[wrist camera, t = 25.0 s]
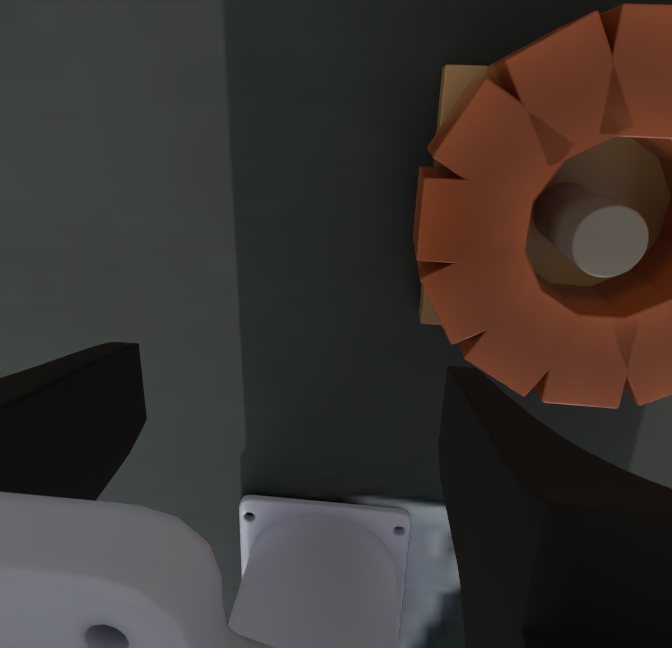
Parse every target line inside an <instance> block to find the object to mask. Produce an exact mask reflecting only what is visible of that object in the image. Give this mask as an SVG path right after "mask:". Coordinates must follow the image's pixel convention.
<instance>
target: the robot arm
mask: <svg viewBox="0 0 672 648" xmlns="http://www.w3.org/2000/svg"><path fill="white" fill-rule="evenodd" d="M146 420H147V417H146V408H145V398H144V389H143V380H142V370H141V361H140V352H139V344H137V343H123V342H110V343H105V344H101V345H97V346H94V347H91V348H88V349H85V350H82V351H79V352H76V353H73V354H70V355H67V356H64V357H62V358H59V359H56V360H53V361H50V362H47V363H45V364H42V365H39V366H36V367H33V368H30V369H27V370H24V371H21V372H18V373H15V374H12V375H9V376H5V377H2V378H0V648H398V638H399V629H400V619H401V610H402V600H403V591H404V581H405V572H406V563H407V553H408V544H409V534H410V525H411V518H410V514H409V513H408V511H406V510H404V509H400V508H390V507H379V506H368V505H357V504H346V503H335V502H324V501H313V500H302V499H291V498H281V497H270V496H259V495H246V496H244V497H243V498H242V499H241V501H240V505H239V518H240V544H241V570H242V581H241V584H240V588H239V591H238V594H237V597H236V600H235V603H234V607H233V610H232V613H231V616H230V619H229V622H228V625H227V622H226V618H225V613H224V609H223V591H222V575H221V573H220V570H219V568H218V565H217V562H216V560H215V557H214V555H213V552H212V550H211V547H210V544H209V543H208V542H207V541H205V540H204V539H203V538H202V537H201V536H200V535H198V534H197V533H196V532H195V531H194V530H192V529H191V528H190V527H189V526H188V525H187V524H185V523H184V522H183V521H182V520H181V519H180V518H178V517H176V516H173V515H169V514H166V513H163V512H160V511H157V510H153V509H150V508H147V507H144V506H140V505H134V504H124V503H113V502H103V501H96V499H97V498H98V496H99V495H100V494H101V492H102V491H103V490H104V488H105V487H106V485H107V484H108V483H109V481H110V480H111V479H112V477H113V476H114V474H115V473H116V472H117V470H118V469H119V467H120V466H121V465H122V463H123V462H124V460H125V459H126V457H127V456H128V455H129V453H130V451H131V449H132V448H133V446H134V444H135V442H136V440H137V438H138V436H139V434H140V432H141V430H142V428H143V426H144V424H145V422H146ZM438 444H439V463H440V478H441V484H442V490H443V495H444V500H445V505H446V510H447V515H448V520H449V525H450V530H451V535H452V540H453V545H454V549H455V554H456V559H457V565H458V571H459V578H460V585H461V597H462V608H463V619H464V631H465V643H466V648H672V489H671V488H668V487H665V486H663V485H660V484H657V483H655V482H652V481H649V480H647V479H644V478H642V477H640V476H637V475H635V474H633V473H630V472H628V471H626V470H623V469H621V468H619V467H617V466H615V465H613V464H611V463H609V462H607V461H605V460H603V459H601V458H598V457H597V456H595V455H593V454H591V453H589V452H587V451H585V450H583V449H582V448H580V447H578V446H577V445H575V444H573V443H572V442H570V441H568V440H567V439H565V438H563V437H562V436H560V435H559V434H557V433H556V432H554V431H552V430H551V429H550V428H548V427H547V426H545V425H544V424H543V423H541V422H540V421H539V420H537V419H536V418H534V417H533V416H532V415H530V414H529V413H528V412H527V411H525V410H524V409H523V408H522V407H520V406H519V405H518V404H517V403H515V402H514V401H513V400H512V399H511V398H510V397H508V396H507V395H506V394H505V393H504V392H503V391H502V390H500V389H499V388H498V387H497V386H496V385H495V384H494V383H493V382H492V381H490V380H489V379H488V378H487V377H486V376H485V375H484V374H483V373H481V372H480V371H479V370H478V369H476V368H470V367H457V366H448V369H447V377H446V385H445V393H444V402H443V410H442V418H441V427H440V435H439V443H438ZM248 512H250V513H253V514H254V515H253V516H251V515H249V514H247V513H248ZM399 526H400V527H402V529H399V530H398V529H395V527H399Z"/></svg>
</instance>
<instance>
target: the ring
mask: <svg viewBox="0 0 672 648" xmlns="http://www.w3.org/2000/svg"><path fill="white" fill-rule="evenodd" d="M487 69H488V72H489V74H490V77H491V79H492V80H490V79H489V78H484V79H481V80H477V81H473V82H471V83H470V84H469V85H468V87H467V88H466V90H465V91H464V93H463V94H462V96H461V97H460V99H459V100H458V102H457V103H456V105H455V106H454V108H453V109H452V110H451V112H450V113H449V115H448V116H447V118H446V119H445V121H444V122H443V124H442V125H441V127H440V128H439V130H438V131H437V133H436V134H435V136H434V137H433V139H432V140H431V142H430V143H429V145H428V146H427V150H428V151H429V153H430V154H431V155H432V157H433V158H434V159H435V160H436V161H438V162H439V163H441V164H442V165H444V166H445V167H430V166H420V167H419V176H418V186H417V197H416V208H415V218H414V229H413V241H414V248H415V255H416V260H417V263H418V270H419V277H420V282H421V284H422V286H423V288H424V290H425V292H426V294H427V296H428V298H429V300H430V302H431V304H432V306H433V308H434V310H435V313H436V315H437V317H438V319H439V321H440V323H441V325H442V327H443V329H444V331H445V333H446V335H447V337H448V339H449V341H450V343H451V344H456V343H458V342H459V343H460V347H461V350H462V354H463V358H464V359H465V360H467V361H468V362H470V363H471V364H473V365H474V366H476V367H478V368H479V369H481V370H482V371H484V372H485V373H487V374H489V375H490V376H492V377H493V378H495V379H496V380H498V381H499V382H501V383H503V384H504V385H506V386H507V387H509V388H510V389H512V390H514V391H515V392H517V393H518V394H520V395H521V396H523V397H525V396H526V395H527V394H528V393H529V392H530V390H531V389H532V388H533V387H535V389H536V391H537V393H538V395H539V397H540V399H541V401H542V402H544V403H554V404H566V405H578V406H590V407H602V408H614V409H617V408H618V407H619V404H620V401H621V397H622V393H623V389H625V390H626V392H627V393H628V394H629V395H630V397H631V398H632V399H633V400H634V402H635V403H636V404H637V405H638V406H641V405H643V404H646V403H649V402H652V401H655V400H658V399H660V398H663V397H666V396H669V395H672V5H665V4H632V3H624V4H622V5H620V6H617V7H615V8H613V9H610V10H608V11H606V12H603V13H601V14H599V12H598V11H594V12H591V13H589V14H587V15H585V16H583V17H580V18H578V19H576V20H574V21H572V22H569V23H567V24H565V25H563V26H561V27H559V28H557V29H555V30H553V31H551V32H550V33H548V34H546V35H544V36H542V37H540V38H539V39H537V40H535V41H533V42H531V43H529V44H528V45H526V46H524V47H522V48H520V49H518V50H516V51H515V52H513V53H511V54H509V55H507V56H505V57H504V58H502V59H500V60H498V61H496V62H494V63H492V64H491V65H489V66H488V67H487ZM615 137H629V138H632V139H634V140H635V141H636V142H638V143H639V144H641V145H642V146H643V147H645V148H646V149H647V150H649V151H650V152H651V153H653V154H654V155H656V156H657V157H658V158H659V160H660V163H661V166H662V169H663V172H664V175H665V178H666V182H667V185H668V188H669V191H670V194H671V198H670V202H669V205H668V209H667V213H666V217H665V221H664V224H663V228H662V232H661V236H660V238H659V240H658V241H657V242H656V243H655V244H654V245H653V246H652V247H651V248H650V250H649V251H648V252H647V253H646V254H645V255H644V256H643V257H642V258H641V260H640V261H639V262H638V263H637V264H636V265H635V266H634V267H633V268H632V269H631V270H630V271H628V272H625V273H623V274H620V275H618V276H616V277H613V278H611V279H608V280H606V281H604V282H601V283H599V284H596V285H594V286H592V287H588V286H573V285H558V284H551V283H550V282H548V281H547V280H545V279H544V278H542V277H541V276H539V275H538V274H536V273H535V272H534V270H533V268H532V265H531V263H530V260H529V258H528V256H527V253H526V251H525V248H526V242H527V236H528V230H529V224H530V219H531V213H532V207H533V202H534V201H535V199H536V198H537V197H538V195H539V194H540V193H541V192H542V190H543V189H544V188H545V186H546V185H547V184H548V183H549V181H550V180H551V179H552V178H553V176H554V175H555V174H556V172H557V171H558V170H559V169H560V167H561V166H562V165H563V163H564V162H565V161H567V160H569V159H571V158H573V157H575V156H577V155H579V154H581V153H583V152H585V151H587V150H590V149H592V148H594V147H596V146H598V145H600V144H602V143H604V142H606V141H608V140H610V139H612V138H615Z"/></svg>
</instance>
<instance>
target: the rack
mask: <svg viewBox="0 0 672 648" xmlns="http://www.w3.org/2000/svg"><path fill="white" fill-rule="evenodd" d="M487 67H488V66H480V65H445V66H444V67H443V68H442V76H441V87H440V97H439V108H438V118H437V129H436V133H437V131H438V130H439V128H440V127H441V125H442V124H443V122H444V121H445V119H446V118H447V116H448V115H449V113H450V112H451V110H452V109H453V108H454V106H455V105H456V103H457V102H458V100H459V99H460V97H461V96H462V94H463V93H464V91H465V90H466V88H467V87H468V85H469V84H470V83H471V82H473V81H477V80H481V79H484V78H489V79H490V80H492V79H491V77H490V74H489V72H488V69H487ZM433 167H445V166H444V165H442V164H441V163H439V162H438V161H436V160H435V159H434V160H433ZM670 198H671V194H670V191H669V188H668V185H667V182H666V178H665V175H664V172H663V169H662V166H661V163H660V160H659V158H658V157H657V156H656V155H654V154H653V153H651V152H650V151H649V150H647V149H646V148H645V147H643V146H642V145H641V144H639V143H638V142H636V141H635V140H634V139H632V138H629V137H615V138H612V139H610V140H608V141H606V142H604V143H602V144H600V145H598V146H596V147H594V148H592V149H590V150H587V151H585V152H583V153H581V154H579V155H577V156H575V157H573V158H571V159H569V160H567V161H565V162H564V163H563V165H562V166H561V167H560V169H559V170H558V171H557V172H556V174H555V175H554V176H553V178H552V179H551V180H550V181H549V183H548V184H547V185H546V186H545V188H544V189H543V190H542V192H541V193H540V194H539V195H538V197H537V198H536V199H535V201H534V202H533V207H532V213H531V219H530V224H529V230H528V236H527V242H526V248H525V251H526V253H527V256H528V258H529V260H530V263H531V265H532V268H533V270H534V272H535V273H536V274H538V275H539V276H541V277H542V278H544V279H545V280H547V281H548V282H550V283H551V284H558V285H573V286H588V287H592V286H594V285H596V284H599V283H601V282H604V281H606V280H608V279H611V278H613V277H616V276H618V275H620V274H623V273H625V272H628V271H630V270H631V269H632V268H633V267H634V266H635V265H636V264H637V263H638V262H639V261H640V260H641V258H642V257H643V256H644V255H645V254H646V253H647V252H648V251H649V250H650V248H651V247H652V246H653V245H654V244H655V243H656V242H657V241H658V240H659V238H660V236H661V232H662V228H663V224H664V221H665V217H666V213H667V209H668V205H669V202H670ZM419 317H420V323H421V324H430V325H441V323H440V321H439V319H438V317H437V315H436V313H435V310H434V308H433V306H432V304H431V302H430V300H429V298H428V296H427V294H426V292H425V290H424V288H423V286H421V296H420V307H419Z"/></svg>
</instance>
